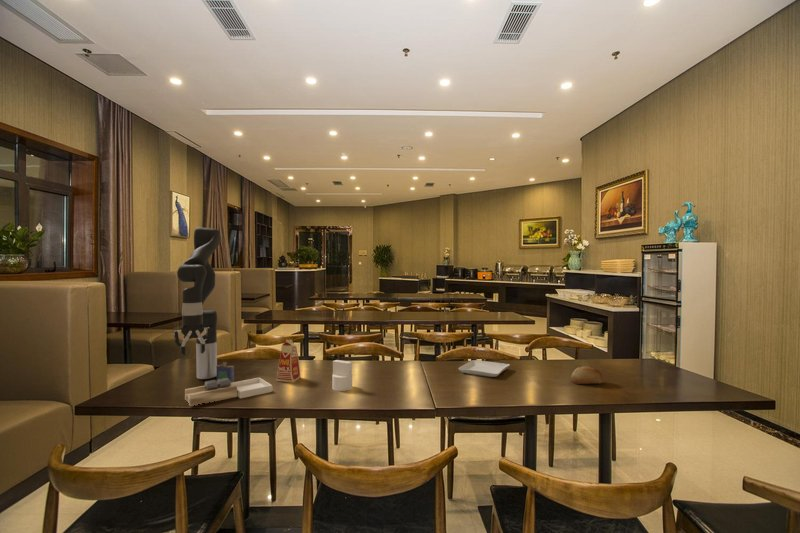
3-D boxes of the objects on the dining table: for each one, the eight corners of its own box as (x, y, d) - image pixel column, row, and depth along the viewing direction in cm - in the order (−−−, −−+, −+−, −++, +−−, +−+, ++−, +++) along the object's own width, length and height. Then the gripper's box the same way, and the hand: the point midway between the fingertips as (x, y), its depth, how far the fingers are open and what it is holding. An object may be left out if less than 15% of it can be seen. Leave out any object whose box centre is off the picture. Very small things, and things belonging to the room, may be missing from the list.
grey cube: (204, 391, 170) (204, 381, 170) (214, 389, 173) (214, 379, 173) (207, 393, 167) (207, 383, 167) (217, 391, 170) (217, 381, 169)
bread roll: (608, 386, 184) (609, 369, 184) (576, 386, 184) (576, 369, 184) (598, 380, 194) (598, 364, 194) (567, 380, 194) (567, 364, 194)
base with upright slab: (356, 386, 185) (356, 360, 185) (344, 392, 178) (344, 364, 177) (340, 383, 190) (340, 358, 190) (328, 389, 182) (328, 362, 182)
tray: (228, 389, 182) (228, 383, 182) (259, 383, 191) (259, 377, 191) (240, 398, 170) (240, 391, 169) (272, 391, 178) (272, 385, 178)
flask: (235, 384, 189) (235, 362, 189) (231, 386, 186) (230, 363, 186) (218, 383, 191) (218, 360, 191) (214, 385, 188) (214, 362, 188)
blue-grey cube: (217, 388, 173) (217, 379, 173) (227, 386, 176) (227, 377, 176) (220, 390, 170) (220, 381, 170) (229, 389, 173) (229, 379, 173)
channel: (184, 399, 168) (184, 389, 168) (229, 391, 179) (229, 381, 179) (190, 406, 160) (190, 395, 160) (237, 396, 172) (236, 386, 172)
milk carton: (293, 382, 192) (292, 340, 192) (275, 381, 194) (275, 339, 194) (301, 376, 201) (301, 336, 201) (284, 375, 203) (284, 336, 203)
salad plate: (457, 374, 206) (457, 367, 206) (472, 365, 225) (472, 359, 224) (497, 380, 195) (497, 373, 195) (510, 370, 213) (510, 364, 213)
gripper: (208, 311, 173) (209, 350, 173) (170, 314, 163) (171, 355, 164) (213, 313, 167) (214, 353, 167) (174, 316, 158) (174, 358, 158)
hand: (192, 354), depth 165 cm, fingers open, 6 cm apart
